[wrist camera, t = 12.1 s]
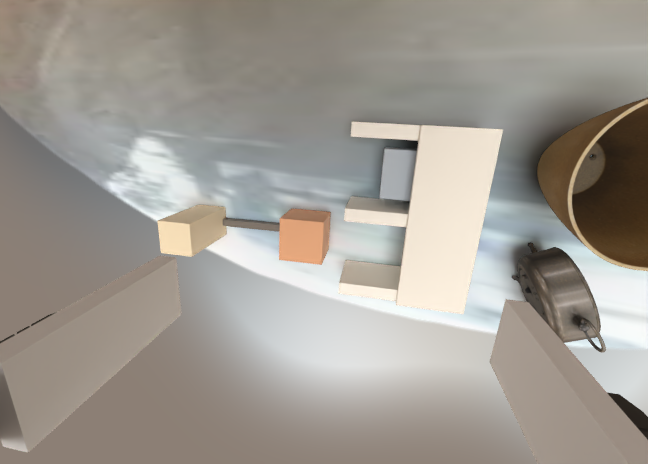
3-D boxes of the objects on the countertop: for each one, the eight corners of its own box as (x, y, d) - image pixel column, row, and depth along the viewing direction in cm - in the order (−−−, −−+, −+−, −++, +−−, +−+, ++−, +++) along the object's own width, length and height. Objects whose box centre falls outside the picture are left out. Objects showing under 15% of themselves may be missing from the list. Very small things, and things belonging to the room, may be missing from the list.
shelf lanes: (357, 123, 43) (351, 121, 35) (478, 130, 41) (503, 129, 33) (344, 269, 50) (337, 297, 42) (448, 282, 48) (463, 314, 39)
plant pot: (569, 77, 38) (692, 41, 23) (665, 152, 38) (848, 165, 23) (477, 179, 43) (529, 204, 28) (564, 244, 43) (661, 303, 28)
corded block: (198, 199, 51) (156, 215, 41) (330, 212, 48) (317, 231, 38) (201, 235, 53) (161, 258, 43) (328, 249, 50) (315, 276, 40)
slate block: (384, 146, 44) (384, 148, 38) (429, 149, 43) (436, 152, 37) (379, 190, 46) (379, 198, 40) (422, 193, 45) (428, 202, 39)
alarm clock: (558, 301, 46) (646, 385, 31) (517, 311, 47) (582, 395, 32) (540, 232, 44) (625, 286, 28) (498, 244, 45) (558, 302, 30)
